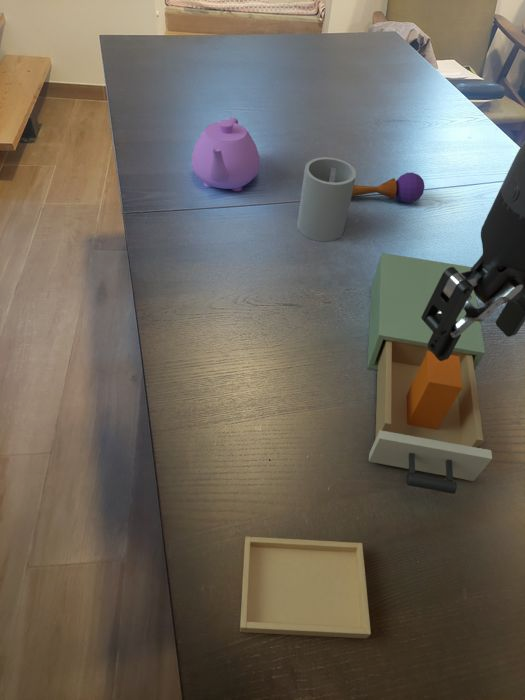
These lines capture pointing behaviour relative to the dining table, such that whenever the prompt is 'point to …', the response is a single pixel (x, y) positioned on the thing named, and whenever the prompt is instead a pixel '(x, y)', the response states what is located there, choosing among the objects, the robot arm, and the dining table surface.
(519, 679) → the dining table surface
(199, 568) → the dining table surface
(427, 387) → the block
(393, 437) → the drawer
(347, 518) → the dining table surface
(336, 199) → the cup
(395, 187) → the kendama
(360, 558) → the tray
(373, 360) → the cabinet
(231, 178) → the teapot
